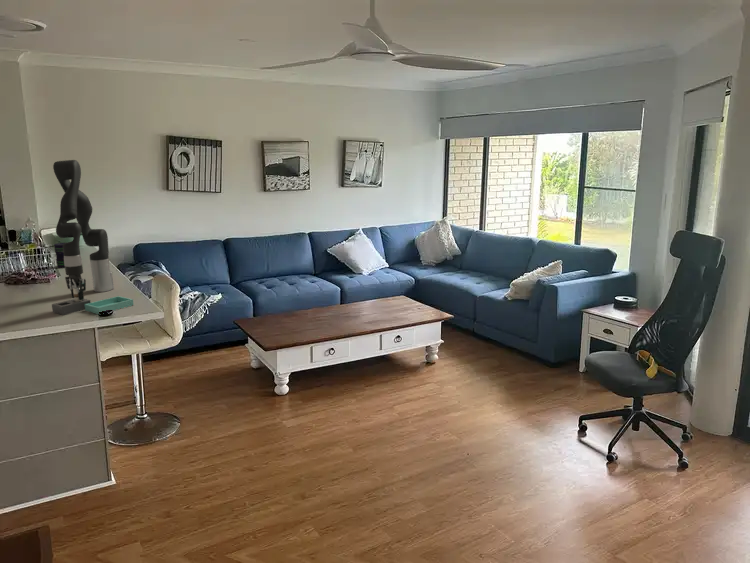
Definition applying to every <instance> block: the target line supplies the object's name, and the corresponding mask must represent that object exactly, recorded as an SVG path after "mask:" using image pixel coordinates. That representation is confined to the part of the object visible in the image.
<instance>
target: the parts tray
mask: <svg viewBox="0 0 750 563" xmlns="http://www.w3.org/2000/svg"><path fill="white" fill-rule="evenodd" d="M84 305H85V310H84V311H85V312H90V313H92V314H97V315H100V314H99V312H102V311H106V310H114V311H117V310H116V309H118V310H121V309H120V308H122V309H125V308H124V307H126V308H129V307H128V306H130V307H133V306H132V305H134V299H133V298H128V297H125V296H119V295H117V296H114V297H108V298H105V299H101V300H96V301H92V302H91V303H88V304H84Z"/></svg>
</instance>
